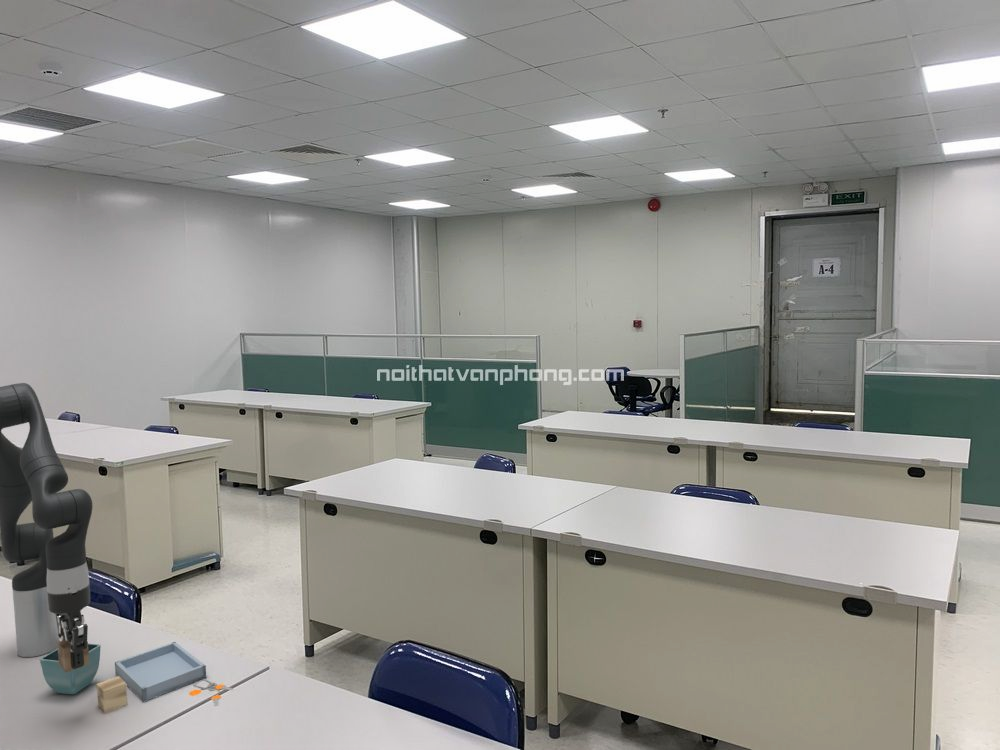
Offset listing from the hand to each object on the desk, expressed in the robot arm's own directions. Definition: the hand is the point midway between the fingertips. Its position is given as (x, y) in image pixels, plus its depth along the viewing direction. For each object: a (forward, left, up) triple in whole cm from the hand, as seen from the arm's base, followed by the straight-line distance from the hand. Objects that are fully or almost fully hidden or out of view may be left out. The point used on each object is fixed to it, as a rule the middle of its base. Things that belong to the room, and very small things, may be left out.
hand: (74, 662), depth 147 cm
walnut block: (0, 0, 0) cm, 0 cm away
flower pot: (-14, +3, -13) cm, 19 cm away
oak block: (0, +7, -12) cm, 14 cm away
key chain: (+11, +24, -13) cm, 29 cm away
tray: (-5, +19, -12) cm, 23 cm away
